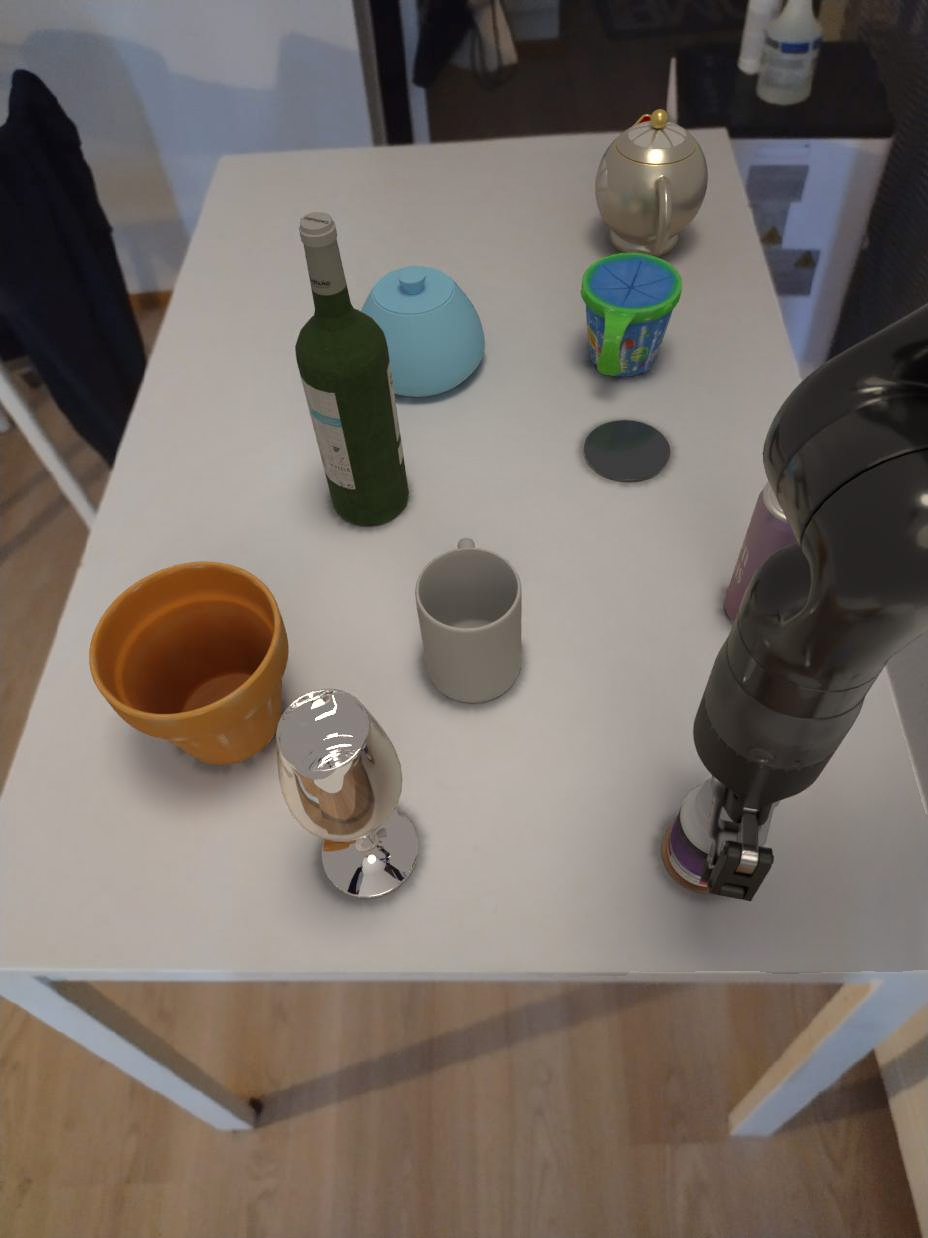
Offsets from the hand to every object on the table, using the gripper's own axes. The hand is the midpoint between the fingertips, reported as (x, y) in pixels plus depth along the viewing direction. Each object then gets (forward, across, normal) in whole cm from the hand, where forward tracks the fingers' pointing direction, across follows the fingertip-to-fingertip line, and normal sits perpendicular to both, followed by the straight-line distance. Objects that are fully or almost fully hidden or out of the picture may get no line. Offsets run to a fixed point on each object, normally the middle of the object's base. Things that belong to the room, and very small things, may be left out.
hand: (719, 819), depth 60 cm
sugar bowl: (+7, +54, +35) cm, 64 cm away
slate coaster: (+7, +42, +10) cm, 44 cm away
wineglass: (+7, -4, +25) cm, 26 cm away
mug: (+7, +16, +21) cm, 27 cm away
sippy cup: (+7, +58, +12) cm, 59 cm away
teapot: (+7, +80, +12) cm, 81 cm away
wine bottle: (+7, +32, +35) cm, 48 cm away
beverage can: (+7, +24, -4) cm, 25 cm away
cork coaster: (+7, 0, 0) cm, 7 cm away
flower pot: (+7, +4, +40) cm, 41 cm away
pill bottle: (+7, 0, 0) cm, 7 cm away
